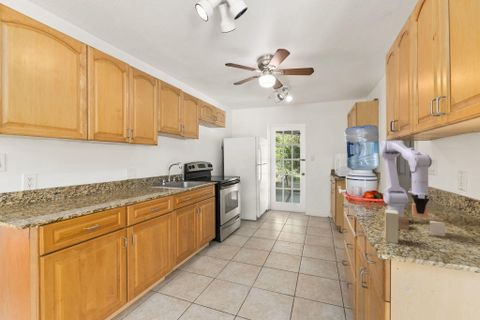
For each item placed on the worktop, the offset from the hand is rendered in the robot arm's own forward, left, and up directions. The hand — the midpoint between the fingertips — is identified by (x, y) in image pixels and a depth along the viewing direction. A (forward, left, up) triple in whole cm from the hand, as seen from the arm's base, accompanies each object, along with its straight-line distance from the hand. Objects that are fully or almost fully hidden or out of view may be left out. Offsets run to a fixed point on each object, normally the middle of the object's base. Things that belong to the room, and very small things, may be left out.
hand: (419, 212), depth 96 cm
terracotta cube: (0, 0, -2) cm, 2 cm away
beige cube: (-5, +7, -10) cm, 13 cm away
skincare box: (+16, -10, -10) cm, 22 cm away
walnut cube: (-7, -6, -10) cm, 14 cm away
